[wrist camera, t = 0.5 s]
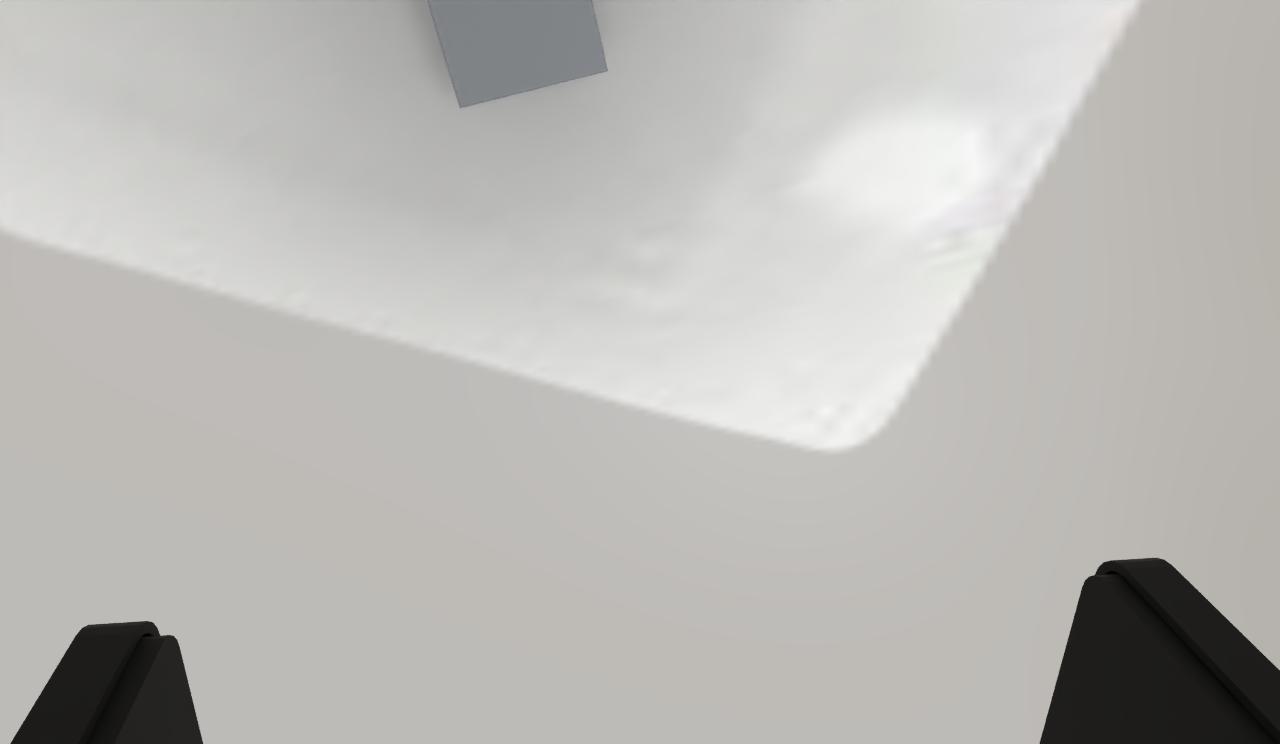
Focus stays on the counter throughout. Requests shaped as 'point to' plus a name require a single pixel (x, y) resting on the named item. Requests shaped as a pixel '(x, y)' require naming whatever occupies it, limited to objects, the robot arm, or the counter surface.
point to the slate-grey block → (516, 45)
